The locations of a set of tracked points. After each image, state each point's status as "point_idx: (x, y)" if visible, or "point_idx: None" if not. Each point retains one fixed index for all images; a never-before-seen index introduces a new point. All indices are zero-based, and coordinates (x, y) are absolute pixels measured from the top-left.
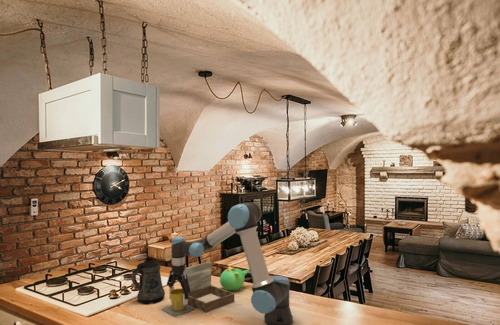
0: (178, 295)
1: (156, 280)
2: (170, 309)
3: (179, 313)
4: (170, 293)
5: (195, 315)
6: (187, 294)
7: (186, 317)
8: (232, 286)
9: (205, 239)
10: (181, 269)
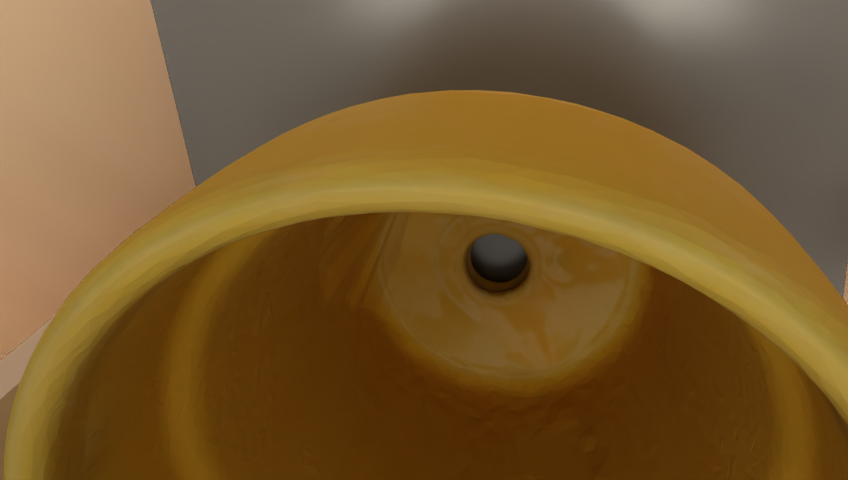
0: (30, 375)
1: None
2: (605, 61)
3: (219, 111)
4: (490, 202)
5: (21, 317)
6: None
7: (12, 141)
8: None
9: None
10: None
